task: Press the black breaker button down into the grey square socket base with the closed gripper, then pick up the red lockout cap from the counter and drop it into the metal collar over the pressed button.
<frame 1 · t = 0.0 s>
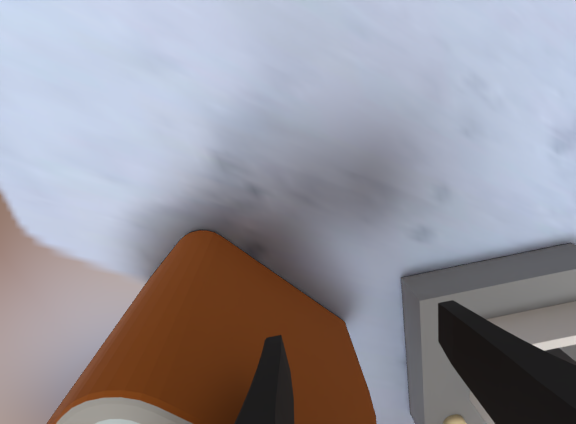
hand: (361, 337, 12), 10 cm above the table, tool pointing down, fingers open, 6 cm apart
breaker button: (537, 368, 21), point 4 cm above the table, slide at 0.0 cm
grey square socket base: (482, 336, 26), on the table
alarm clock: (244, 308, 23), on the table, touching gripper
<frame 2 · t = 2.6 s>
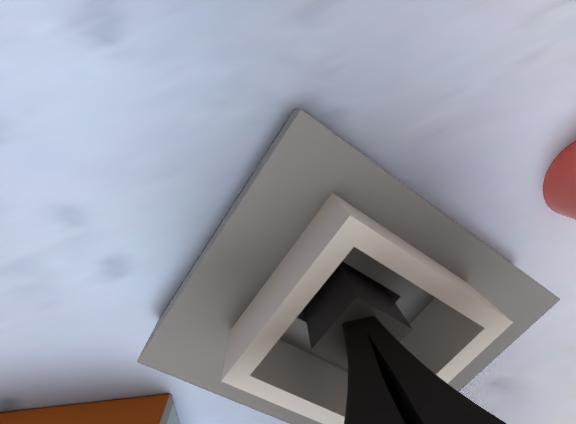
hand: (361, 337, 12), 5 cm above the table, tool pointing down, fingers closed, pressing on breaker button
breaker button: (350, 311, 13), point 3 cm above the table, slide at 1.2 cm, touching gripper
grey square socket base: (337, 293, 17), on the table
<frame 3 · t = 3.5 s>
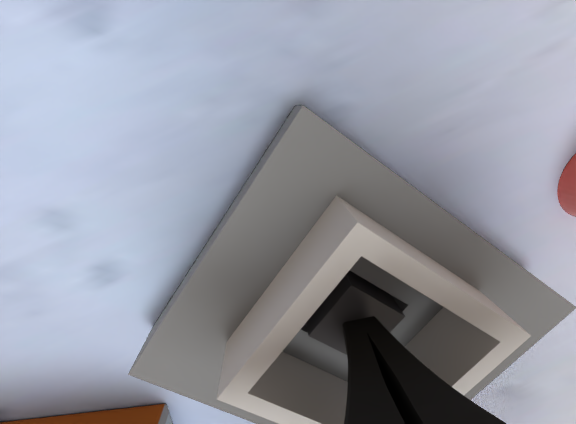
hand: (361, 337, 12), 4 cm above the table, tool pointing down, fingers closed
breaker button: (346, 300, 14), point 2 cm above the table, slide at 2.6 cm
grey square socket base: (340, 299, 16), on the table
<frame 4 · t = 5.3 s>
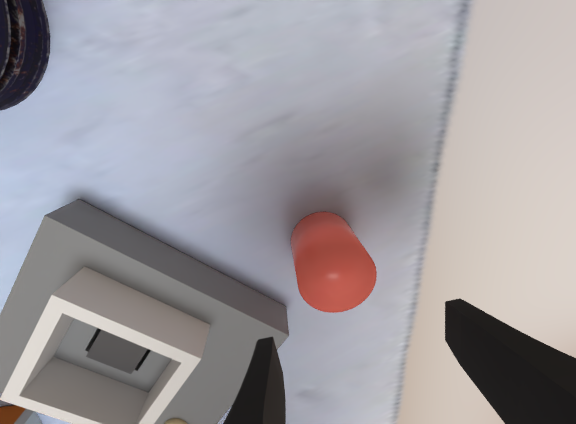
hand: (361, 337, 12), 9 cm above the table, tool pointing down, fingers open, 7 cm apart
breaker button: (130, 329, 20), point 2 cm above the table, slide at 2.6 cm
lockout cap: (321, 240, 20), on the table
grey square socket base: (148, 326, 22), on the table
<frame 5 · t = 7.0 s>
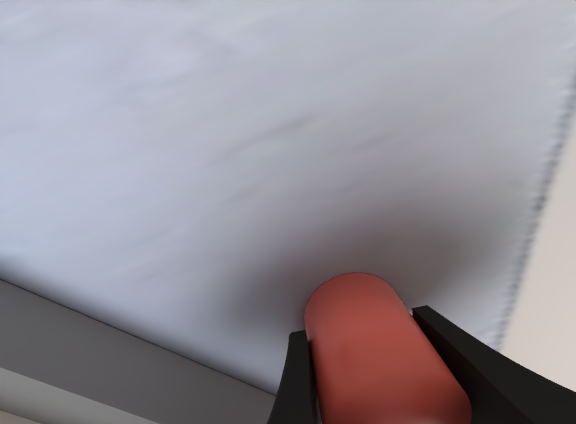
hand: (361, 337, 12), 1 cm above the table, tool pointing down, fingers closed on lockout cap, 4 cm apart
lockout cap: (351, 314, 13), on the table, touching gripper
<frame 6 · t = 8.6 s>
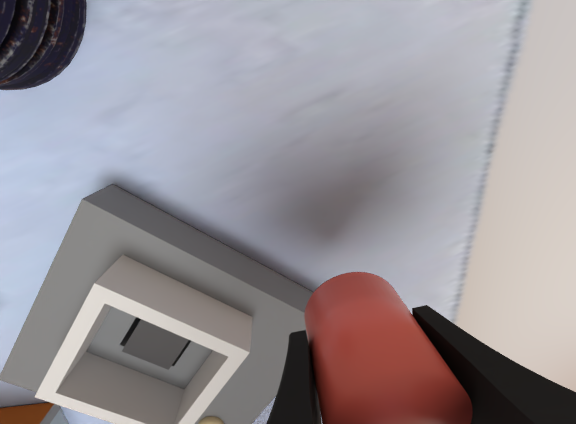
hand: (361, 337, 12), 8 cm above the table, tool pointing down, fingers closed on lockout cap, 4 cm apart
breaker button: (166, 323, 19), point 2 cm above the table, slide at 2.6 cm
lockout cap: (352, 313, 13), point 7 cm above the table, touching gripper
grey square socket base: (181, 320, 21), on the table
when the fingers open (6 cm above the table, at t = 10.6 s): lockout cap stays where it is, resting on breaker button.
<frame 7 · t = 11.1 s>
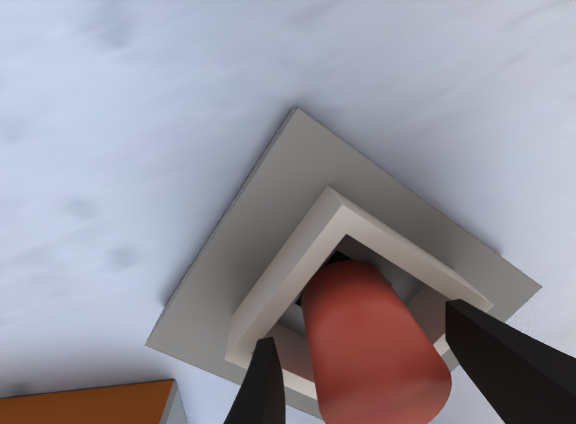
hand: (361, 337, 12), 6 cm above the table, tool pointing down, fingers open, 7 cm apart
breaker button: (338, 280, 16), point 2 cm above the table, slide at 2.6 cm, touching lockout cap
lockout cap: (345, 299, 14), point 4 cm above the table, touching breaker button
grey square socket base: (334, 283, 18), on the table
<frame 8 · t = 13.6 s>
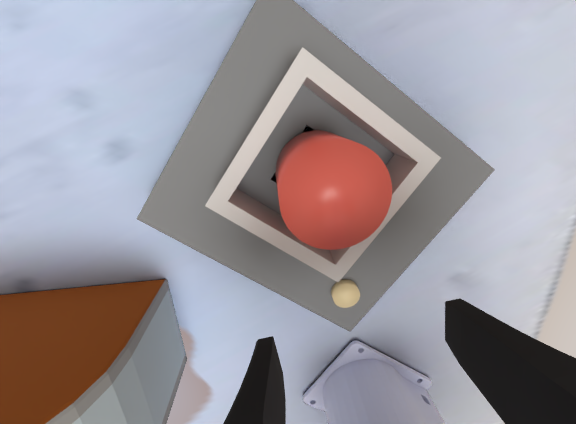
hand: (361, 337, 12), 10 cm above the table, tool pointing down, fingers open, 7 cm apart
breaker button: (311, 166, 17), point 2 cm above the table, slide at 2.6 cm, touching lockout cap
lockout cap: (315, 171, 16), point 4 cm above the table, touching breaker button
grey square socket base: (310, 181, 20), on the table
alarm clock: (84, 331, 23), on the table
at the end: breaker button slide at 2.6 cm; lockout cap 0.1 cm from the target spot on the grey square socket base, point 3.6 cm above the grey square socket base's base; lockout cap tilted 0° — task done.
